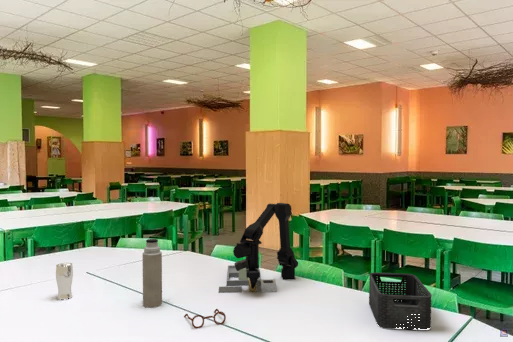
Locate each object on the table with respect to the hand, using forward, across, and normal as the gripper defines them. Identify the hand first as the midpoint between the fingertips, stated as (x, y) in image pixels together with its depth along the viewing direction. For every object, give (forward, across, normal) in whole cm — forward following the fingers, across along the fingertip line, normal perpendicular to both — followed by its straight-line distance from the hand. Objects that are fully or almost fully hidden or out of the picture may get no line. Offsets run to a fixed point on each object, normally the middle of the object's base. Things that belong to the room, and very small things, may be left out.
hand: (252, 287), depth 196 cm
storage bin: (+2, +32, +57) cm, 65 cm away
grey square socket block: (+2, -2, +8) cm, 8 cm away
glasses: (+2, +34, -20) cm, 39 cm away
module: (+2, -16, -4) cm, 17 cm away
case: (+2, -24, -4) cm, 24 cm away
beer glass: (+2, +5, -84) cm, 85 cm away
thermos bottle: (+2, +16, -44) cm, 46 cm away
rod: (+2, 0, 0) cm, 2 cm away
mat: (+2, -2, -10) cm, 11 cm away
